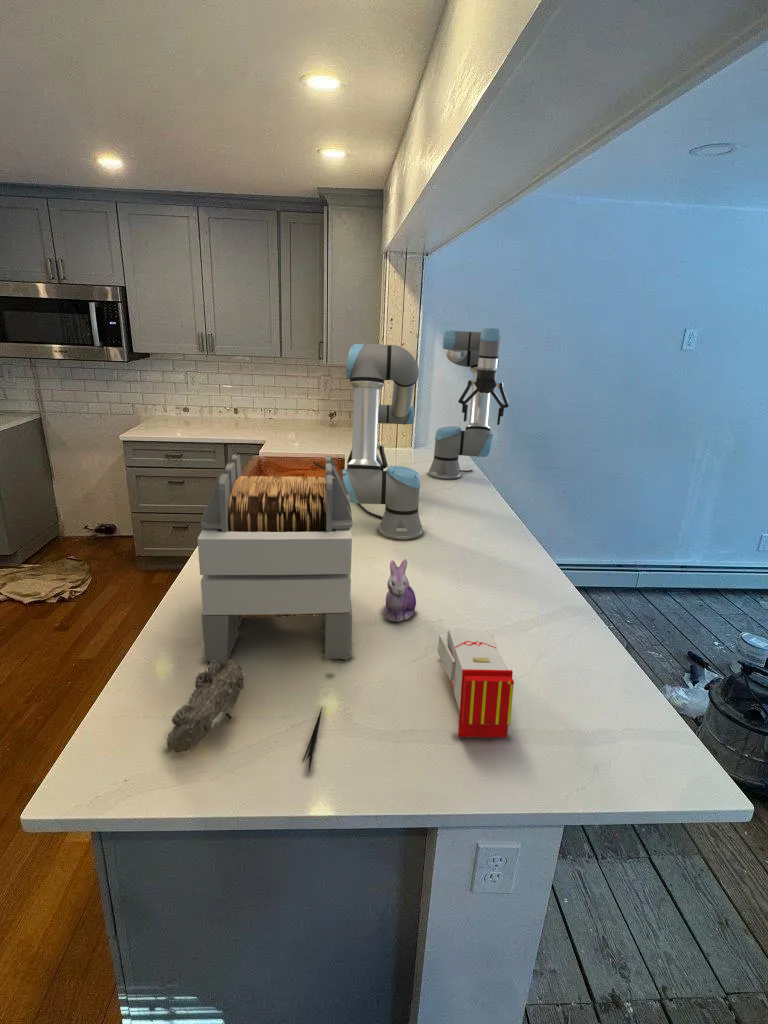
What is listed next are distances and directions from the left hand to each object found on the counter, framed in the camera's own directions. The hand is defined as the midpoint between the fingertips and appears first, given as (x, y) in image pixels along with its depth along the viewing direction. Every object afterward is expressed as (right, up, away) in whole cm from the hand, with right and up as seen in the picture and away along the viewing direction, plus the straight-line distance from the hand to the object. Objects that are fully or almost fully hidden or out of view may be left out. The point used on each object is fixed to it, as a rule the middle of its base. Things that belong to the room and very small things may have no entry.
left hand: (366, 481), depth 251 cm
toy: (+25, -51, -132) cm, 144 cm away
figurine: (+12, -40, -103) cm, 111 cm away
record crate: (-18, -41, -109) cm, 118 cm away
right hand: (+47, +23, -20) cm, 56 cm away
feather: (-5, -53, -142) cm, 152 cm away
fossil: (-25, -53, -142) cm, 154 cm away
